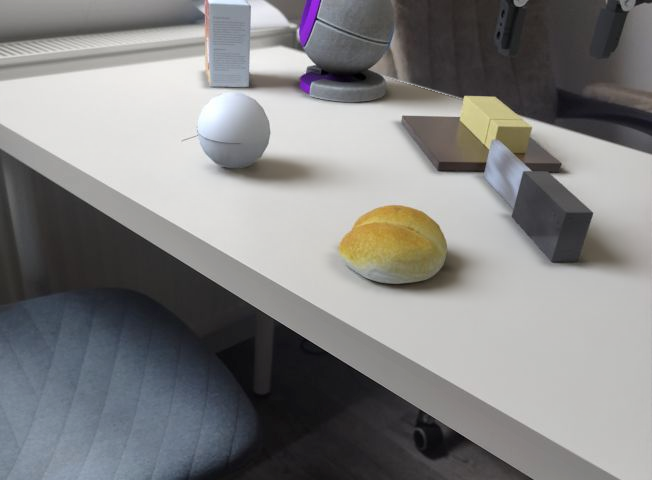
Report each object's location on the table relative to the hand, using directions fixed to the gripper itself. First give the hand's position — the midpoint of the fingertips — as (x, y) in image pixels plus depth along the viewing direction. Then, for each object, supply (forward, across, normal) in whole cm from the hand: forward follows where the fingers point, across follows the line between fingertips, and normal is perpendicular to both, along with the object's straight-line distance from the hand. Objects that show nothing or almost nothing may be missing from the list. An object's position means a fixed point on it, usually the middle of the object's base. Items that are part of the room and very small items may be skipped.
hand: (552, 56), depth 58 cm
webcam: (+14, -6, +42) cm, 45 cm away
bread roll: (+14, -15, -8) cm, 22 cm away
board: (+14, +4, +18) cm, 24 cm away
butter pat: (+13, +6, +14) cm, 20 cm away
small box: (+14, -22, +46) cm, 53 cm away
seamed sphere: (+14, -26, +12) cm, 33 cm away
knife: (+14, +1, 0) cm, 14 cm away
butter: (+13, +6, +20) cm, 25 cm away
